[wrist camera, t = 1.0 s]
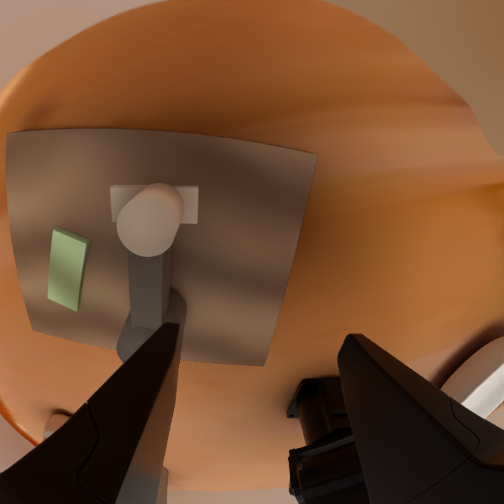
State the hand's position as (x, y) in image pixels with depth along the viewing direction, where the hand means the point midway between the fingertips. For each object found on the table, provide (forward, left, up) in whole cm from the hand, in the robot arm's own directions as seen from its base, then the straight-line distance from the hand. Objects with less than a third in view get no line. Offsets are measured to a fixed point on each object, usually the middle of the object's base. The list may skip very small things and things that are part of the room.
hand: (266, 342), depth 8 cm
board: (-4, +6, -12) cm, 14 cm away
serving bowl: (-19, -38, -12) cm, 44 cm away
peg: (-3, +4, -10) cm, 11 cm away
